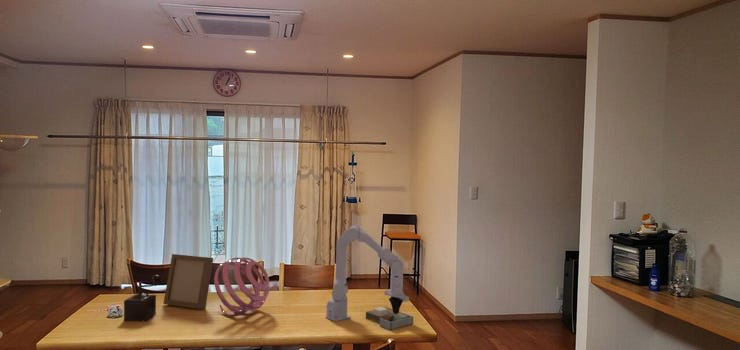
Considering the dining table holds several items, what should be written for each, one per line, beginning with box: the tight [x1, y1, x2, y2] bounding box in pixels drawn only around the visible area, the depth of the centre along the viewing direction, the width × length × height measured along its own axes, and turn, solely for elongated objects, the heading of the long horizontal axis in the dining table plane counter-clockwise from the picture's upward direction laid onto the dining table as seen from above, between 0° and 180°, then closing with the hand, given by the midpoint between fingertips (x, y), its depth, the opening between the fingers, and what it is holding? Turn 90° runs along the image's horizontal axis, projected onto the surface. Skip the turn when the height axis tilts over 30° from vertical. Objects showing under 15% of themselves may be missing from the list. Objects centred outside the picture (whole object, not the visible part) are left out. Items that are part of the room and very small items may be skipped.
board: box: [365, 306, 402, 325], centre depth 228 cm, size 13×12×3 cm
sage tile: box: [393, 314, 408, 321], centre depth 223 cm, size 5×5×3 cm
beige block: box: [373, 306, 388, 316], centre depth 225 cm, size 5×5×3 cm
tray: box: [379, 312, 414, 332], centre depth 219 cm, size 14×7×4 cm, turn 130°
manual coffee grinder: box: [123, 274, 162, 322], centre depth 224 cm, size 16×11×18 cm
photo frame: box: [163, 253, 214, 310], centre depth 244 cm, size 15×22×25 cm
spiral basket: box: [213, 257, 271, 317], centre depth 231 cm, size 28×28×27 cm
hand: (395, 313), depth 225 cm, fingers closed
